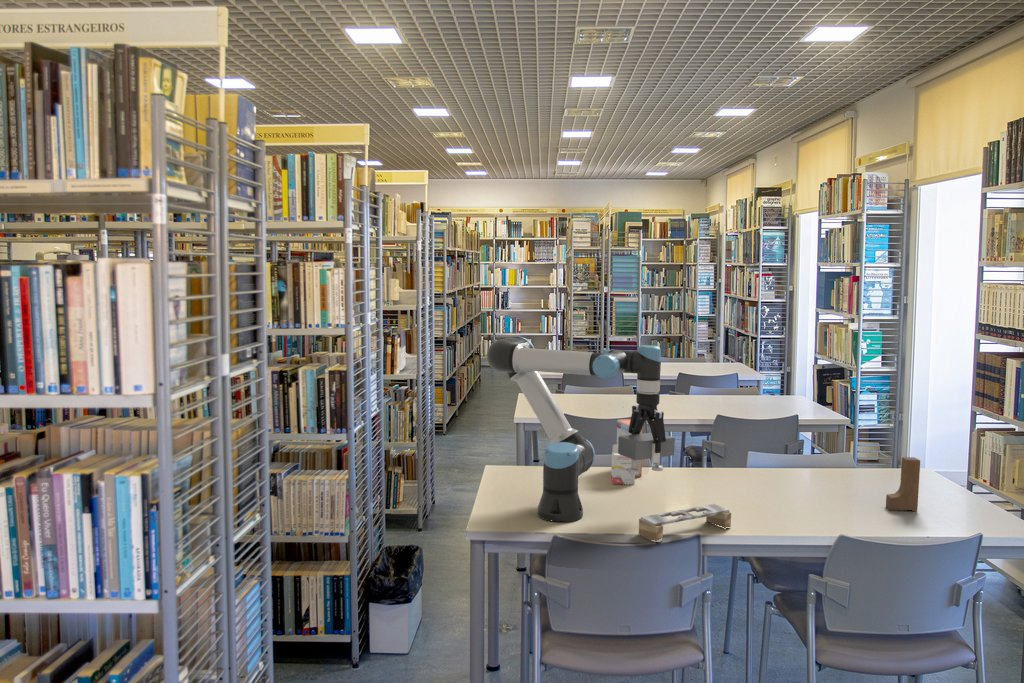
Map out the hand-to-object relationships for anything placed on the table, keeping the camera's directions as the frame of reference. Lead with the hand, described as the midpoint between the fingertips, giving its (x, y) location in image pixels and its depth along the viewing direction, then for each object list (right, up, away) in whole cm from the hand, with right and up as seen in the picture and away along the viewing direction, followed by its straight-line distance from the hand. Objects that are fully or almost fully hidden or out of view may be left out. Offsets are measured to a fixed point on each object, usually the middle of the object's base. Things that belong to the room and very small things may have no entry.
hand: (645, 458), depth 250 cm
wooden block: (+91, -19, +10) cm, 93 cm away
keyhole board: (+10, -21, -15) cm, 27 cm away
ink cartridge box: (-2, -16, +39) cm, 42 cm away
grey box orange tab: (0, -4, 0) cm, 4 cm away
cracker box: (+3, -14, +54) cm, 56 cm away
